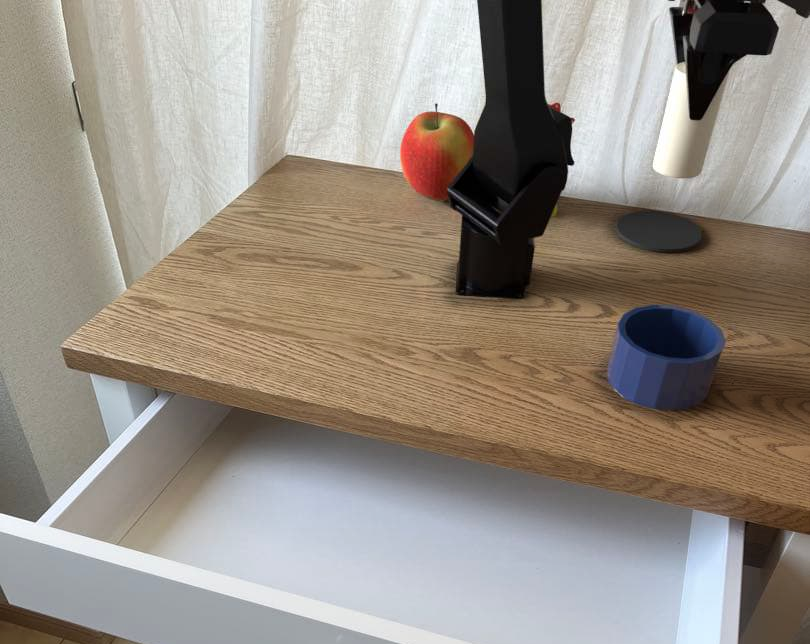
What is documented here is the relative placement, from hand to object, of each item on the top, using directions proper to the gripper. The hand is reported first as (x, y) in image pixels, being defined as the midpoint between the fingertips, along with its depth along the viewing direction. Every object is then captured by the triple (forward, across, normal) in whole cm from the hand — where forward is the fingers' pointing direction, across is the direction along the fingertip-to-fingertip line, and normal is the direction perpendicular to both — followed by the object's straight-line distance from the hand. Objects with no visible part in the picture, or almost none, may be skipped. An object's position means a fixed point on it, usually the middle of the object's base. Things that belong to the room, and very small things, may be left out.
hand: (690, 109), depth 78 cm
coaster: (+13, +1, 0) cm, 13 cm away
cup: (+13, -27, +4) cm, 30 cm away
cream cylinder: (+6, 0, 0) cm, 6 cm away
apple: (+13, +7, +24) cm, 28 cm away
